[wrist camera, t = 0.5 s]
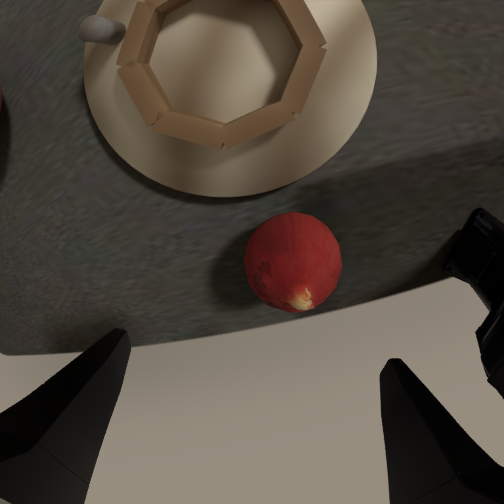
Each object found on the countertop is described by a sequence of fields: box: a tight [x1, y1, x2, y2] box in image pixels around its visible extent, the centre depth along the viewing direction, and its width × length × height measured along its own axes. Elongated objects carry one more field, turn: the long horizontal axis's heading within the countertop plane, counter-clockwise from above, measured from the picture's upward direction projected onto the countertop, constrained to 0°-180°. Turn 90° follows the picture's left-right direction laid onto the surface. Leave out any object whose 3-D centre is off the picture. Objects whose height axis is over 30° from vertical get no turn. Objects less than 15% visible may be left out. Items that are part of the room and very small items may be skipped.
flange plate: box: [78, 0, 377, 197], centre depth 14 cm, size 18×18×4 cm
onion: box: [244, 212, 342, 312], centre depth 18 cm, size 6×6×8 cm
